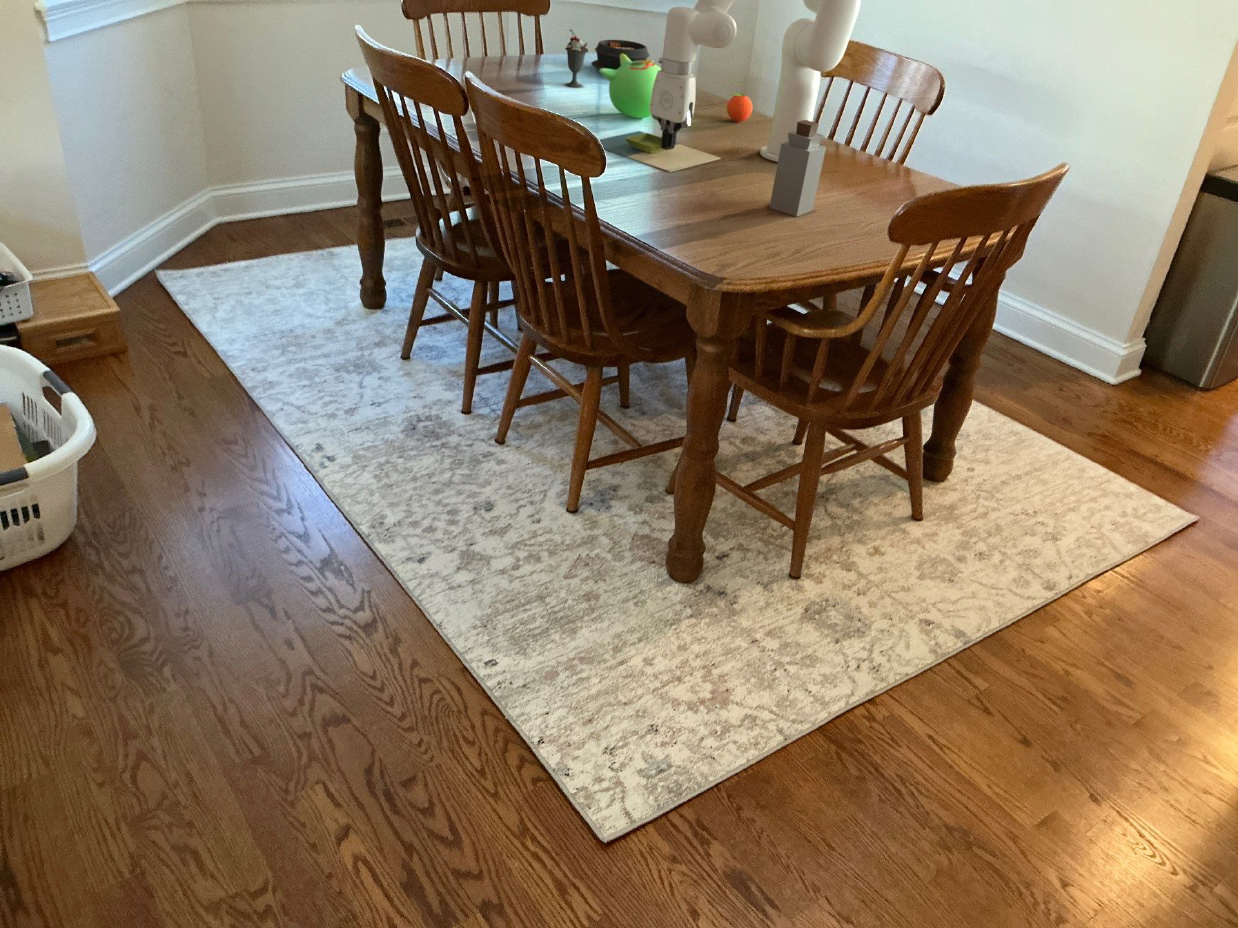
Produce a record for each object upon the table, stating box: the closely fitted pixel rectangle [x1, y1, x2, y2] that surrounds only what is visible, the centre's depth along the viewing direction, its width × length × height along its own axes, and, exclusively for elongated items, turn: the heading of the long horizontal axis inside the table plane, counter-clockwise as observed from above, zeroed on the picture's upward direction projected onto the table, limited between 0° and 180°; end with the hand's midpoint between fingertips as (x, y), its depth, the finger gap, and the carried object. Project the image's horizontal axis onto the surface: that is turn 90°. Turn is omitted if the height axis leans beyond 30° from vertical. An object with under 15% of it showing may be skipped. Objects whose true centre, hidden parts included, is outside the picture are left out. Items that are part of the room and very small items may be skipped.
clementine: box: [724, 93, 753, 123], centre depth 267 cm, size 8×7×7 cm
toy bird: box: [598, 54, 661, 119], centre depth 259 cm, size 18×17×15 cm
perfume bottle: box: [768, 120, 827, 217], centre depth 204 cm, size 7×7×18 cm
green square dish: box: [626, 132, 665, 153], centre depth 236 cm, size 9×9×2 cm
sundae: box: [564, 29, 589, 89], centre depth 282 cm, size 7×7×15 cm
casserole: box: [590, 39, 650, 71], centre depth 304 cm, size 25×19×8 cm
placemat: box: [598, 130, 722, 173], centre depth 236 cm, size 26×20×1 cm
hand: (667, 148), depth 233 cm, fingers closed
